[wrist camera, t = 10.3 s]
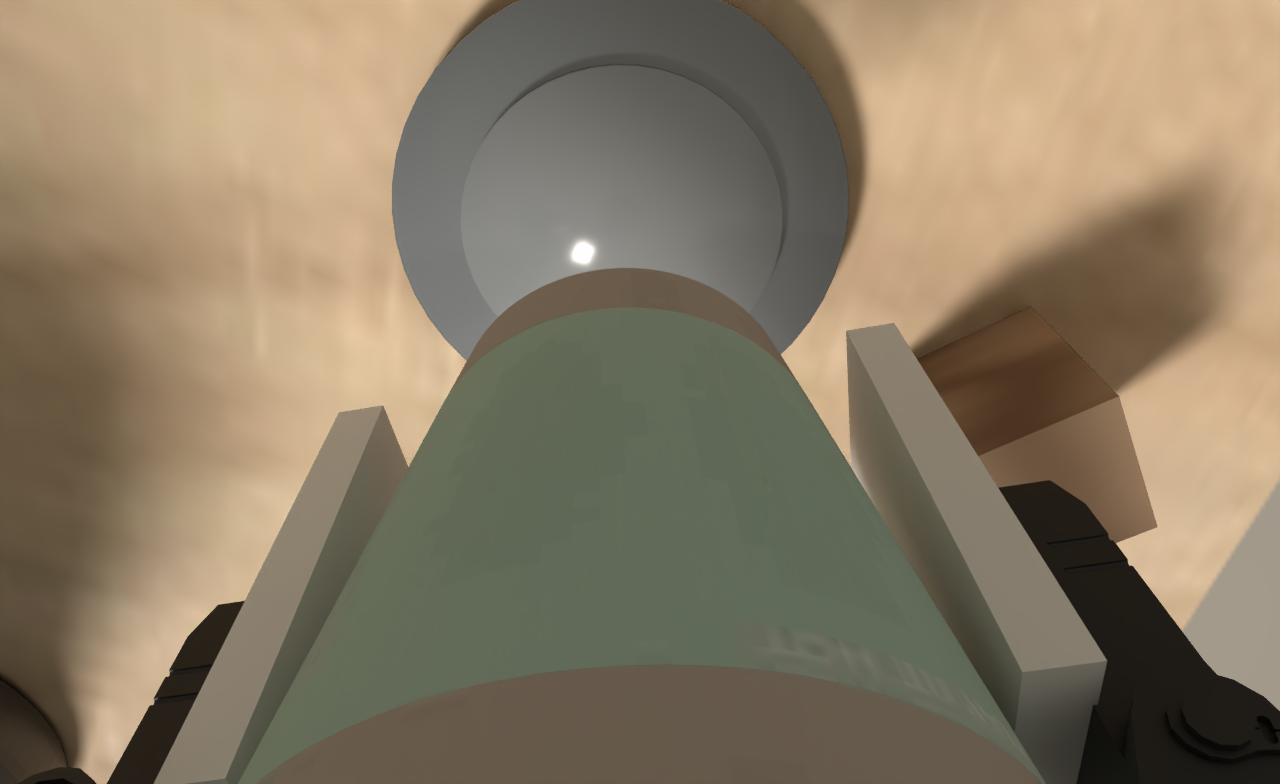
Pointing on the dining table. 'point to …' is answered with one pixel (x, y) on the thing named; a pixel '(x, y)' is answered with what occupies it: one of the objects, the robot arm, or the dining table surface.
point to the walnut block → (1043, 418)
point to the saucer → (619, 162)
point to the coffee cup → (634, 580)
